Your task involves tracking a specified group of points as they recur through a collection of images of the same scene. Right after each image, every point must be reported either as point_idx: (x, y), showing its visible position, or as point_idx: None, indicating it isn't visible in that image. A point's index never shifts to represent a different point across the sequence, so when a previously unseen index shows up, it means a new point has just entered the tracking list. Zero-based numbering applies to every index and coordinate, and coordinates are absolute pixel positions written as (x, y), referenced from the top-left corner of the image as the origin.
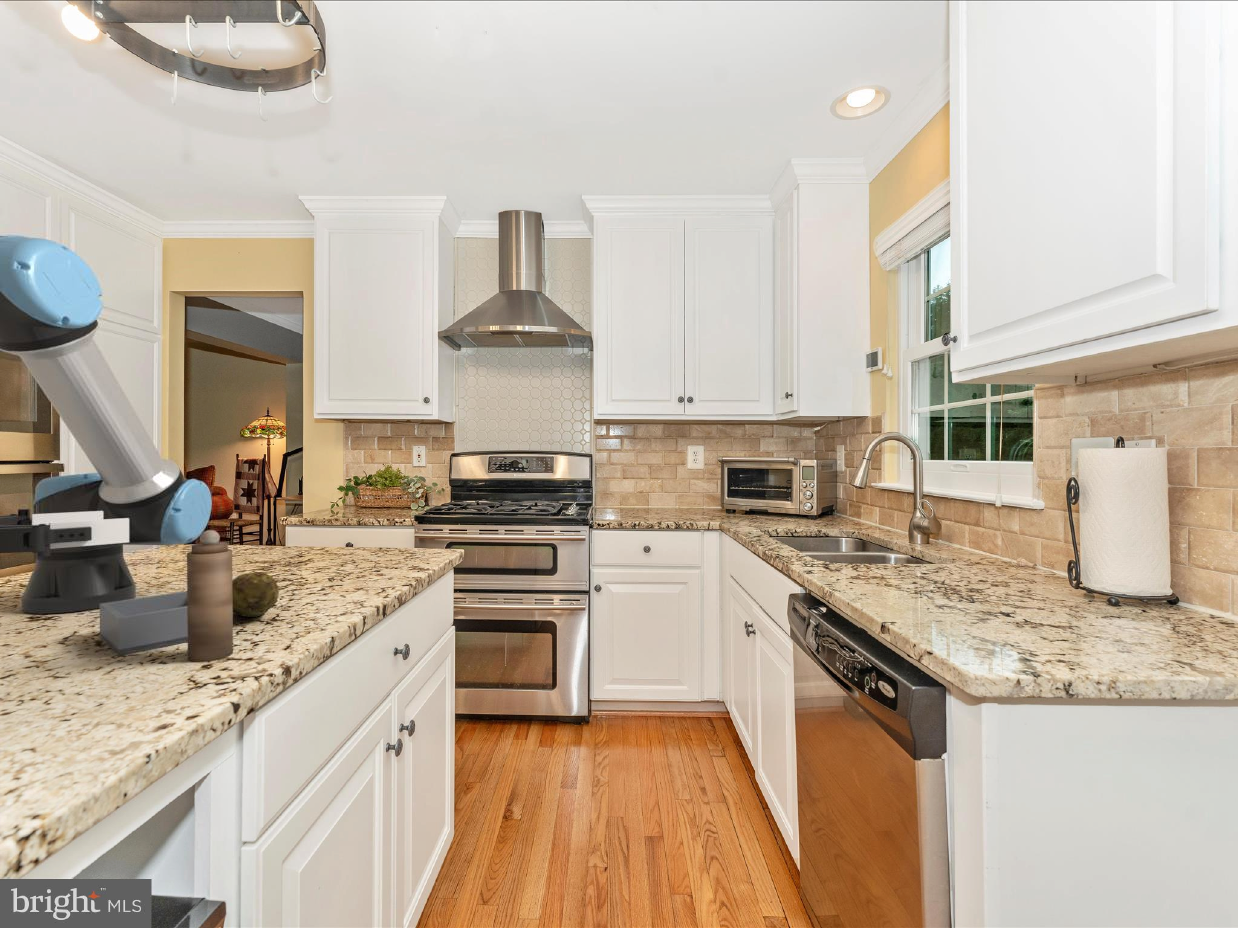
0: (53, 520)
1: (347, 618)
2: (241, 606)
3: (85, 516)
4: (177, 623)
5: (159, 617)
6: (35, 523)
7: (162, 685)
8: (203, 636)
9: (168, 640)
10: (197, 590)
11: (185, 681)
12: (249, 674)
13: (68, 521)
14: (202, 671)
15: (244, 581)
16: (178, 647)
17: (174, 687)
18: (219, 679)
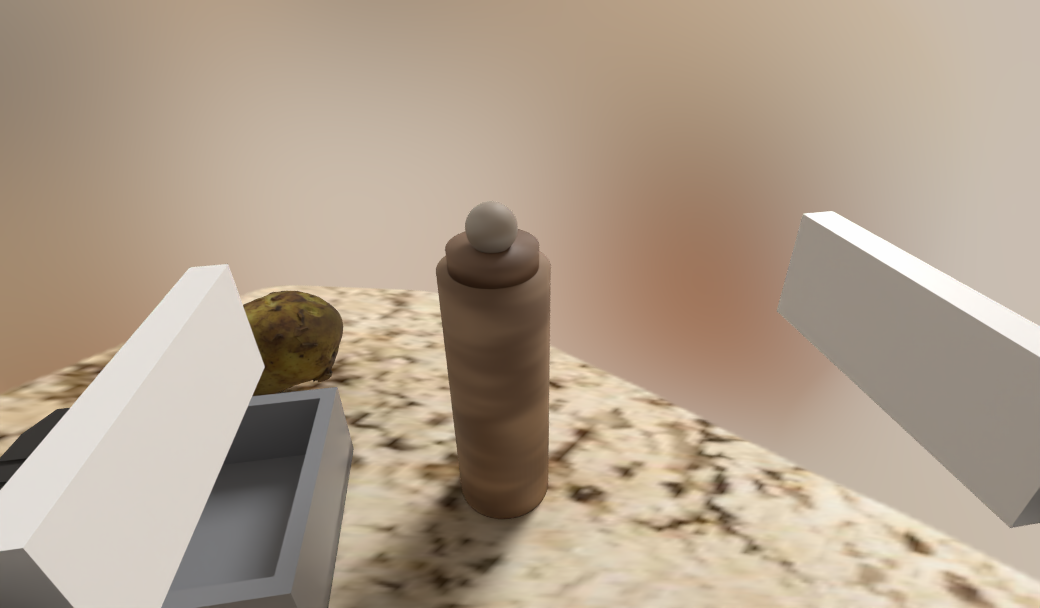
0: (142, 465)
1: (435, 304)
2: (307, 379)
3: (206, 332)
4: (329, 489)
5: (315, 507)
6: (88, 582)
7: (678, 576)
8: (544, 454)
9: (335, 534)
10: (537, 372)
11: (672, 536)
12: (686, 445)
13: (181, 411)
14: (616, 504)
15: (301, 324)
16: (374, 527)
17: (706, 557)
18: (692, 486)
